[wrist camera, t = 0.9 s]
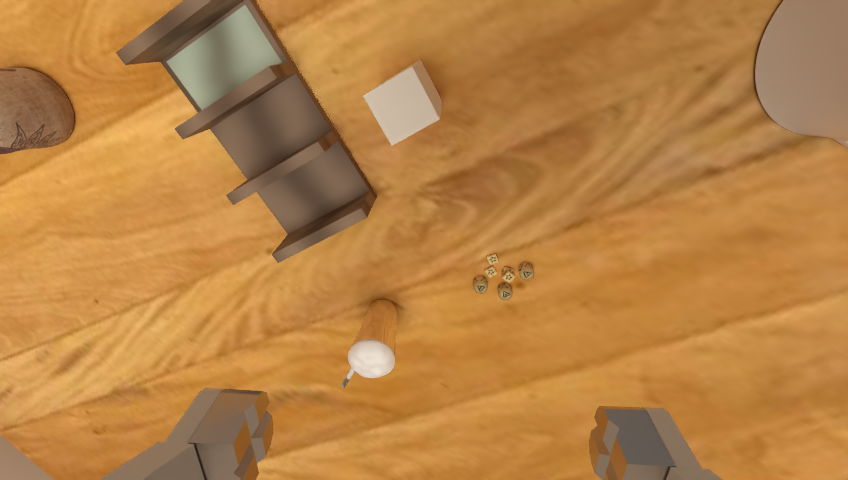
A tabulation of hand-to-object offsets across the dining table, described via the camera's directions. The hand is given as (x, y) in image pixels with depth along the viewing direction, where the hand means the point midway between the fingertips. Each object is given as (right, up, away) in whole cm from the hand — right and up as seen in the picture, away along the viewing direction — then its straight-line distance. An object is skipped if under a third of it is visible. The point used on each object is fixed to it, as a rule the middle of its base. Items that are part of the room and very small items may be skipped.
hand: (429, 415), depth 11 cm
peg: (-1, +18, +28) cm, 33 cm away
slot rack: (-14, +15, +30) cm, 36 cm away
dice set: (+8, +1, +36) cm, 37 cm away
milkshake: (-5, -4, +39) cm, 39 cm away
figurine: (-37, +17, +31) cm, 51 cm away
